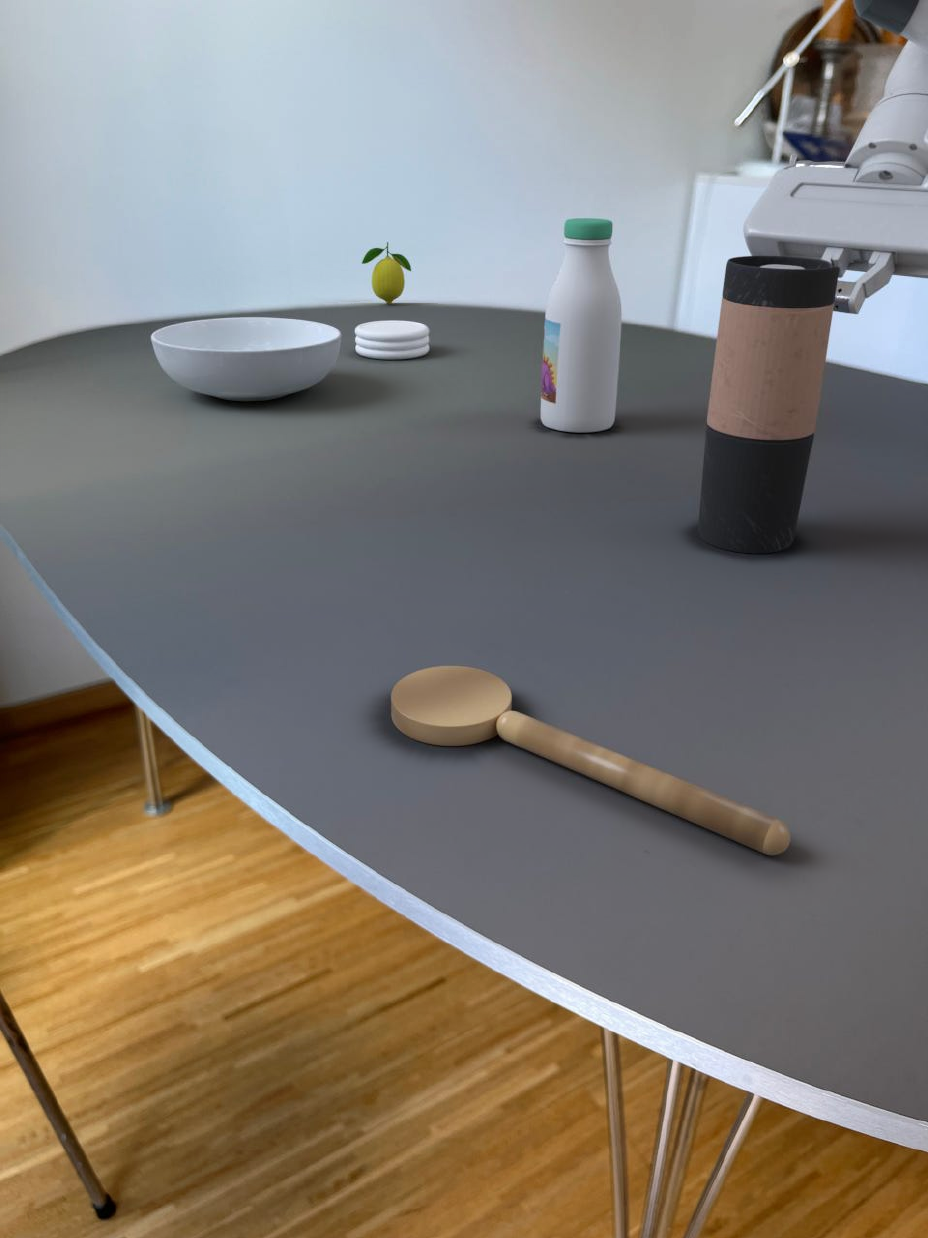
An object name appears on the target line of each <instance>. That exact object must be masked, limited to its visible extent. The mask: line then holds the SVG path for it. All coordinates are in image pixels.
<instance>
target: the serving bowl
mask: <svg viewBox="0 0 928 1238" xmlns="http://www.w3.org/2000/svg"><path fill="white" fill-rule="evenodd" d="M342 336H343V335H342V333H341V331H340V330H339V329H338V328H336V327H335V326H332V325H329V324H326V323H321V322H317V321H310V320H305V319H297V318H296V319H294V318H285V317H284V318H283V317H282V318H281V317H266V316H265V317H264V316H263V317H260V316H249V317H246V316H245V317H223V318H208V319H207V318H206V319H199V320H192V321H191V320H190V321H185V322H179V323H174V324H171V325H167V326H165V327H164V326H163V327H162V328H159V329H157V330H155V331H153V333H152V334H151V335H150V341H151V345H152V348H153V352H154V354H155V357H156V359H157V360H158V363H159V365H160V367H161V368H162V370H163V371H164V372H165V373H166V374H167V375H168V376H169V378H171V379H172V380H173V381H174V382H175V383H177V384H178V385H180V386H182V387H184V388H186V389H188V390H190V391H193V392H196V393H199V394H203V395H207V396H211V397H215V398H218V399H222V400H226V401H234V402H260V401H270V400H275V399H280V398H284V397H286V396H288V395H290V394H295V393H298V392H301V391H303V390H307V389H309V388H311V387H314V386H315V385H317V384H318V383H320V382H321V381H322V380H324V379H325V378H326V377H327V376H328V375H329V374H330V372H331V371H332V370H333V368H334V367H335V365H336V362H337V360H338V358H339V354H340V350H341V343H342V338H343V337H342Z"/></svg>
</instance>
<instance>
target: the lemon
mask: <svg viewBox="0 0 928 1238" xmlns="http://www.w3.org/2000/svg"><path fill="white" fill-rule="evenodd" d="M385 250H386V256H385V257H384V258H382V259H380V260H379V261H378V262H377V263H376V265H374V268H373V270H372V275H371V287H372V291H373V293H374V294H375V296H376V297H377V298H379V299H381V300H383V301H384V302H385V303H386V304H387V305H391V304H392V303H393V301H395V300H396V299H398V298H399V297H401V295H402V294H403V292H404V289H405V285H406V282H405V280H406V279H405V274H404V270H403V269H405V270H407V271H408V272H412V267H411V264H410V261H409V260H408V259H407V257H405V256H404V254H402V253H391V252H390V251H389V241H387V242H386V247H384V248H380V247H374V248H371V249H369V250H368V251H367V252H366V254H365V255H364V257H363V259H362V262H361V265H365V264H368V263H370V262H372V261H374V260H375V259H376V258H378V257H379V256H380V255H381V254H382V253H383V252H384V251H385ZM389 254H390V255H389Z"/></svg>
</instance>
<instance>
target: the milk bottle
mask: <svg viewBox="0 0 928 1238" xmlns="http://www.w3.org/2000/svg"><path fill="white" fill-rule="evenodd" d="M613 225H614V224H613V221H612V220H610V219H607V218H606V219H605V218H595V217H594V218H591V217H588V218H585V217H582V218H579V217H577V218H569V219H566V220H565V221H564V228H563V236H564V240H563V243H564V244H565V254H564V257H563V260H562V263H561V267H560V269H559V272H558V274H557V276H556V279H555V280H554V282H553V285H552V287H551V289H550V292H549V294H548V298H547V302H546V307H545V316H544V317H545V318H544V327H543V330H544V331H543V345H542V363H541V364H542V367H541V389H540V390H541V391H540V421H541V423H542V425H544V426H545V427H546V428H549V429H552V430H556V431H560V432H568V433H595V432H602V431H605V430H608V429H610V428H611V427H612V426H613V425H614V423H615V418H616V410H617V409H616V408H617V397H618V396H617V394H618V384H619V383H618V382H619V368H620V355H621V354H620V353H621V340H622V339H621V337H622V317H623V316H622V315H623V314H622V302H621V296H620V292H619V288H618V285H617V281H616V280H615V277H614V273H613V271H612V267H611V261H610V255H609V248H610V245H611V244H612V237H613Z"/></svg>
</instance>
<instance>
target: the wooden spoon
mask: <svg viewBox="0 0 928 1238" xmlns="http://www.w3.org/2000/svg"><path fill="white" fill-rule="evenodd" d="M512 703H513V695H512V691H511V689H510V687H509V685H508V684H507V683H506V681H504V680H503V679H501V678H500V677H499V676H497V675H496V674H493V673H491V672H489V671H486V670H483V669H480V668H477V667H476V668H475V667H470V666H462V665H440V666H432V667H426V668H423V669H420V670H417V671H414V672H412V673H409V674H408V675H406V676H404V677H402V678H401V679H400V680H399V681H397V683H395V684H394V686H393V688H392V689H391V693H390V704H391V705H390V707H391V709H390V711H391V712H390V714H391V720H392V722H393V725H394V726H395V727H396V728H397V730H398V731H399V732H401V733H402V734H404V735H405V736H406V737H409V738H410V739H412V740H415V741H418V742H421V743H424V744H429V745H433V746H440V747H441V746H442V747H461V746H462V747H463V746H470V745H476V744H479V743H482V742H486V741H488V740H490V739H493V738H495V737H497V735H498V737H500V738H501V739H502V740H503V741H504V742H507V743H509V744H512V745H514V746H516V747H518V748H520V749H523V750H526V751H528V752H530V753H532V754H534V755H537V756H539V757H541V758H544V759H547V760H548V761H551V762H553V763H556V764H558V765H560V766H562V767H564V768H567V769H569V770H571V771H573V772H576V773H578V774H581V775H583V776H585V777H588V778H589V779H592V780H595V781H597V782H599V783H601V784H604V785H605V786H608V787H611V788H613V789H615V790H617V791H619V792H622V793H624V794H627V795H628V796H631V797H634V798H635V799H638V800H640V801H642V802H645V803H647V804H649V805H652V806H654V807H656V808H658V809H661V810H663V811H666V812H668V813H670V814H672V815H674V816H677V817H679V818H680V819H681V818H682V819H684V820H685V821H688V822H691V823H693V824H695V825H698V826H700V827H702V828H704V829H707V830H709V831H711V832H713V833H716V834H717V835H720V836H723V837H725V838H727V839H730V840H732V841H734V842H737V843H739V844H741V845H744V846H746V847H748V848H749V849H753V850H754V851H757V852H759V853H761V854H764V855H767V856H777V855H781V854H782V853H784V852H785V851H786V850H787V849H788V847H789V846H790V843H791V839H792V838H791V832H790V828H789V827H788V825H786V824H785V823H784V822H783V821H782V820H780V819H778V818H776V817H774V816H771V815H769V814H766V813H764V812H761V811H759V810H757V809H755V808H752V807H750V806H747V805H745V804H742V803H740V802H737V801H735V800H733V799H730V798H728V797H725V796H724V795H720V794H718V793H715V792H713V791H711V790H708V789H706V788H703V787H701V786H699V785H696V784H694V783H692V782H689V781H686V780H684V779H682V778H679V777H677V776H675V775H672V774H669V773H667V772H665V771H662V770H660V769H657V768H655V767H653V766H650V765H649V764H645V763H643V762H640V761H638V760H636V759H633V758H631V757H628V756H627V755H624V754H621V753H619V752H616V751H614V750H612V749H609V748H606V747H604V746H602V745H600V744H597V743H595V742H592V741H590V740H587V739H584V738H582V737H581V736H577V735H575V734H573V733H570V732H567V731H565V730H562V729H560V728H558V727H556V726H553V725H551V724H549V723H546V722H544V721H541V720H539V719H536V718H534V717H532V716H529V715H526V714H524V713H522V712H519V711H517V710H512V709H513V708H512V707H513V706H512V705H513V704H512Z"/></svg>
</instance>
